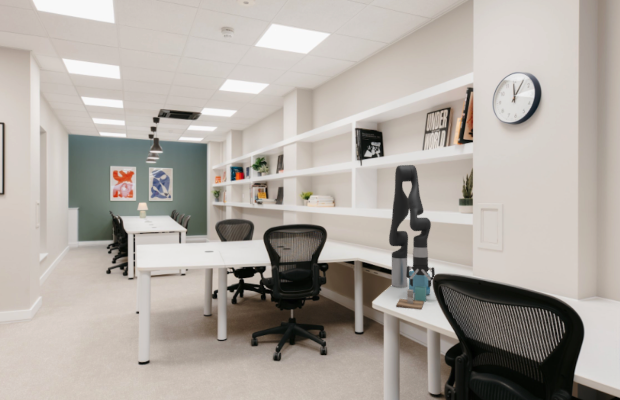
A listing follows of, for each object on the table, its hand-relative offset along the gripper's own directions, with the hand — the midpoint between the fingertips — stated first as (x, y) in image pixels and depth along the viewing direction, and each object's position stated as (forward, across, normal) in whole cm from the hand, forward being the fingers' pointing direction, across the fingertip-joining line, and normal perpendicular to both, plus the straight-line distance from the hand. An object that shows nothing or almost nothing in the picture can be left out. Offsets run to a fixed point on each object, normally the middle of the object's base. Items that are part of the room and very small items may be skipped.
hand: (420, 286), depth 197 cm
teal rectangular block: (+7, 0, -1) cm, 7 cm away
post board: (+7, +4, +10) cm, 13 cm away
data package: (+7, +2, -14) cm, 16 cm away
